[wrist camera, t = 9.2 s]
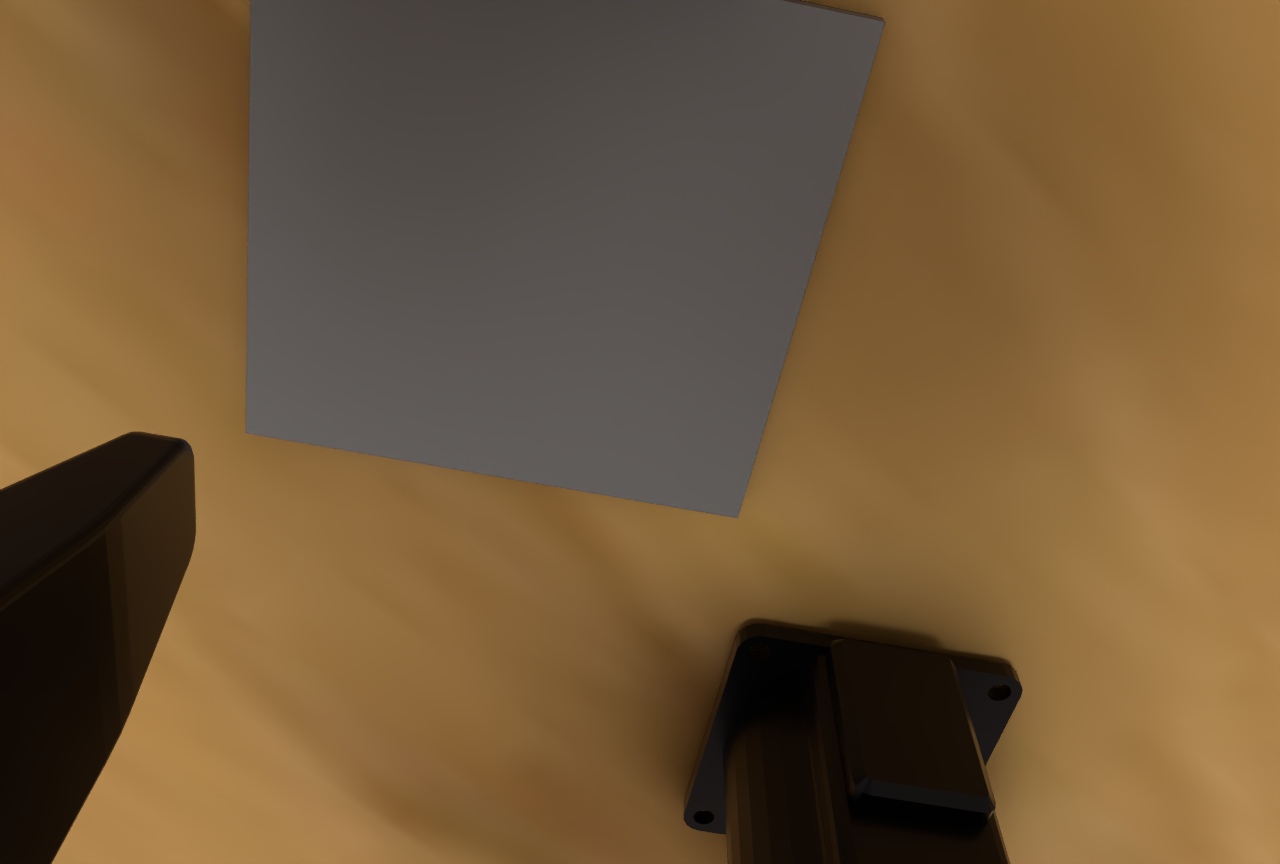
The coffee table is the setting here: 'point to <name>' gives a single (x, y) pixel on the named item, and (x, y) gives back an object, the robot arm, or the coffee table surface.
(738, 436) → the mat
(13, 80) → the coffee table surface
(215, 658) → the coffee table surface
